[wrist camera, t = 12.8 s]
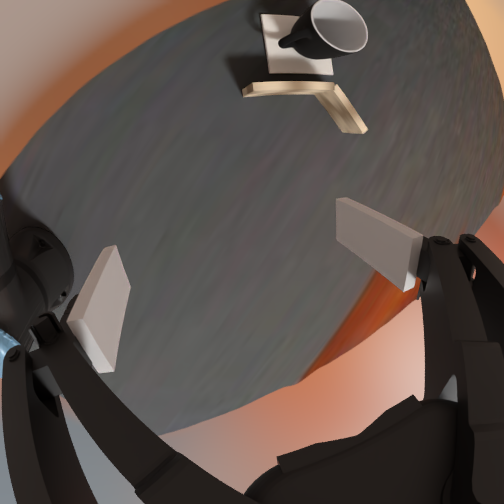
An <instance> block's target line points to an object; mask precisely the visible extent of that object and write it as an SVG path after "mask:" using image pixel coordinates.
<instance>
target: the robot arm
mask: <svg viewBox="0 0 504 504" xmlns="http://www.w3.org/2000/svg"><path fill="white" fill-rule="evenodd" d="M336 240H337V241H339V242H340V243H341V244H343V245H344V246H345V247H347V248H348V249H349V250H351V251H352V252H353V253H355V254H356V255H357V256H359V257H360V258H361V259H363V260H364V261H365V262H366V263H368V264H369V265H370V266H372V267H373V268H374V269H375V270H377V271H378V272H379V273H381V274H382V275H383V276H384V277H386V278H387V279H388V280H389V281H391V282H392V283H393V284H394V285H396V286H397V287H398V288H399V289H400V290H402V291H403V292H404V291H407V290H409V289H411V288H413V287H414V285H415V280H416V276H417V277H419V278H420V279H421V283H420V287H419V291H418V295H417V300H419V297H420V296H421V302H422V312H423V325H424V341H425V393H424V399H423V400H422V401H418V400H417V399H416V397H415V396H414V395H412V396H410V397H408V398H407V399H405V400H403V401H402V402H400V403H399V404H397V405H395V406H393V407H392V408H390V409H388V410H386V411H385V412H384V413H383V414H382V415H381V416H380V417H378V418H377V419H376V420H375V421H374V422H373V423H372V424H371V425H369V426H368V427H367V428H366V429H365V430H364V431H362V432H361V433H360V434H358V435H356V436H353V437H348V438H344V439H338V440H333V441H328V442H322V443H315V444H313V445H310V446H308V447H305V448H302V449H299V450H296V451H293V452H290V453H287V454H284V455H281V456H277V463H278V465H276V466H275V467H273V468H271V469H269V470H268V471H267V472H265V473H264V474H262V475H261V476H260V477H259V478H258V479H256V480H255V481H254V482H253V483H252V485H251V486H250V487H249V488H248V489H247V491H246V492H245V493H244V495H243V494H241V493H240V492H238V491H236V490H234V489H233V488H231V487H229V486H228V485H226V484H224V483H223V482H222V481H219V480H218V479H217V478H215V477H214V476H212V475H211V474H209V473H208V472H206V471H205V470H203V469H202V468H201V467H199V466H198V465H196V464H195V463H193V462H192V461H191V460H189V459H188V458H187V457H185V456H184V455H182V454H181V453H179V452H176V451H175V450H174V449H172V448H171V447H170V446H169V445H168V444H166V443H165V442H164V441H163V440H162V439H160V438H159V437H158V436H157V435H156V434H155V433H154V432H152V431H151V430H150V429H149V428H148V427H147V426H146V425H145V424H144V423H143V422H142V421H140V420H139V419H138V418H137V417H136V416H135V415H134V414H133V413H132V412H131V411H130V410H129V409H128V408H127V407H126V406H125V405H124V404H123V403H122V402H121V401H120V400H119V398H118V397H117V396H116V395H115V394H114V393H113V392H112V391H111V390H110V389H109V388H108V386H107V385H106V384H105V383H104V382H103V381H102V380H101V378H100V377H99V376H98V375H97V374H96V372H95V371H94V370H93V369H92V368H91V367H92V364H93V366H94V367H95V369H96V370H97V371H98V373H105V372H114V371H115V364H116V358H117V351H118V346H119V340H120V334H121V329H122V324H123V319H124V314H125V310H126V305H127V301H128V296H129V292H130V288H131V286H130V284H129V281H128V278H127V276H126V273H125V270H124V267H123V264H122V262H121V259H120V256H119V253H118V250H117V247H116V245H113V246H109V247H105V248H104V249H103V250H102V252H101V254H100V256H99V257H98V259H97V261H96V263H95V265H94V266H93V268H92V270H91V272H90V274H89V276H88V278H87V280H86V282H85V283H84V285H83V287H82V289H81V291H80V293H79V294H77V295H75V296H74V297H73V298H72V299H71V300H70V302H69V304H68V306H67V308H66V310H65V312H64V315H63V316H62V318H61V320H60V322H59V321H58V319H57V317H56V316H55V314H54V313H53V312H52V311H53V310H54V309H56V308H57V307H59V306H60V305H61V304H62V303H63V302H64V301H65V300H66V298H67V297H68V295H69V293H70V291H71V289H72V286H73V281H74V272H73V266H72V262H71V259H70V257H69V255H68V253H67V251H66V249H65V248H64V246H63V245H62V243H61V242H60V241H59V240H58V239H57V238H56V237H55V236H54V235H52V234H51V233H49V232H48V231H46V230H44V229H41V228H37V227H28V228H24V229H22V230H20V231H19V232H18V233H16V234H15V235H14V236H13V237H12V238H11V239H10V240H9V239H8V235H7V230H6V224H5V219H4V213H3V206H2V195H1V194H0V378H2V420H3V432H4V442H5V450H6V457H7V463H8V469H9V474H10V478H11V483H12V487H13V491H14V495H15V498H16V501H17V504H98V503H97V501H96V499H95V497H94V495H93V493H92V490H91V488H90V486H89V484H88V482H87V479H86V477H85V475H84V473H83V470H82V468H81V465H80V463H79V460H78V457H77V455H76V452H75V449H74V446H73V443H72V441H71V437H70V435H69V431H68V428H67V424H66V421H65V417H64V413H63V410H62V406H61V401H60V398H59V395H60V394H62V393H63V395H64V397H65V398H66V400H67V402H68V403H69V405H70V406H71V408H72V409H73V411H74V413H75V414H76V416H77V417H78V419H79V420H80V422H81V423H82V425H83V426H84V427H85V429H86V430H87V432H88V433H89V435H90V436H91V437H92V439H93V440H94V441H95V443H96V444H97V445H98V447H99V448H100V449H101V450H102V452H103V453H104V454H105V455H106V456H107V458H108V459H109V460H110V461H111V462H112V464H113V465H114V466H115V467H116V468H117V469H118V470H119V472H120V473H121V474H122V475H123V476H124V477H125V478H126V479H127V480H128V481H129V482H130V483H131V485H132V486H133V487H134V488H135V493H136V495H137V496H138V497H139V498H140V499H141V500H142V501H143V503H145V504H504V264H503V263H502V261H501V260H500V259H499V258H498V257H497V256H496V255H495V254H494V253H493V252H492V251H491V250H490V249H489V248H488V247H487V246H486V245H485V244H484V243H483V242H482V241H481V240H480V239H478V238H477V237H475V236H474V235H472V234H462V235H460V239H459V244H453V243H452V242H451V241H450V240H449V239H447V238H444V237H441V236H432V237H430V238H429V239H428V238H426V237H424V236H423V235H422V234H420V233H418V232H416V231H414V230H413V229H411V228H409V227H407V226H405V225H403V224H401V223H399V222H397V221H395V220H393V219H391V218H389V217H387V216H385V215H383V214H381V213H379V212H377V211H375V210H373V209H371V208H369V207H366V206H364V205H362V204H360V203H358V202H356V201H353V200H351V199H349V198H347V197H345V198H338V199H336ZM474 269H476V276H475V279H473V278H472V277H473V273H474ZM33 341H35V342H36V344H37V345H38V347H39V349H37V350H34V351H32V352H29V350H30V348H31V346H32V343H33Z"/></svg>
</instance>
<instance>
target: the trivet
mask: <svg viewBox="0 0 504 504" xmlns="http://www.w3.org/2000/svg"><path fill="white" fill-rule="evenodd" d="M260 17H261V23H262V29H263V35H264V42H265V48H266V55H267V62H268V69H269V74H321V75H333V69H332V62H331V58H330V59H322V60H314V59H309V58H306V57H304V56H302V55H300V54H299V53H298V52H297V51H296V50H295V49H294V48H286V49H282V48H280V47H279V45H278V41H279V40H280V39H281V38H283V37H285V36H287V35H289V34H290V33H291V29H292V27H293V25H294V24H295V22H296V21H297V20H298V18H299V17H298V16H287V15H270V14H261V15H260Z"/></svg>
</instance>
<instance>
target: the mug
mask: <svg viewBox="0 0 504 504" xmlns="http://www.w3.org/2000/svg"><path fill="white" fill-rule="evenodd" d="M367 39H368V31H367V27H366V24H365V22H364V20H363V18H362V17H361V16H360V14H359V13H358V12H357V11H356V10H355V9H354V8H353V7H351V6H350V5H348V4H347V3H345V2H343V1H340V0H319V1H317V2H315V3H314V4H313V5H311V6H310V7H309V8H308V9H307V10H306V11H305V12H304V13H303V14H302V15H301V16H300V17H299V18H298V20H297V21H296V22H295V24H294V25H293V27H292V29H291V33H290V34H289V35H287V36H285V37H283V38H281V39H280V40H279V41H278V45H279V47H280V48H282V49H286V48H294V49H295V50H296V51H297V52H298V53H299V54H300V55H302V56H304V57H306V58H309V59H314V60H322V59H330V58H335V57H340V56H344V55H348V54H352V53H355V52H357V51H359V50H361V49H362V48H363V47H364V46H365V45H366V43H367Z"/></svg>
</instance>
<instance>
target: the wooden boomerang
mask: <svg viewBox="0 0 504 504" xmlns="http://www.w3.org/2000/svg"><path fill="white" fill-rule="evenodd" d="M242 93H243V97H250V96H264V95H285V94H314V95H315V96H316V97H317V99H318V100H319V101H320V102H321V104H322V105H323V106H324V108H325V109H326V110H327V112H328V113H329V114H330V116H331V117H332V118H333V120H334V121H335V123H336V124H337V125H338V127H339V128H340V130H341V131H342V133H356V134H364V133H365V132H366V131H367V130H368V129H367V127H366V126H365V124H364V123H363V121H362V120H361V118H360V117H359V115H358V113H357V112H356V110H355V109H354V108H353V106H352V105H351V103H350V102H349V100H348V99H347V97H346V96H345V95H344V93H343V92H342V90H341V89H340V88H339V86H338V85H337V84H336V85H334V83H333V82H312V81H274V82H253V83H251V84H250V85H248V86H247V87H245V88H244V89H242Z"/></svg>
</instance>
